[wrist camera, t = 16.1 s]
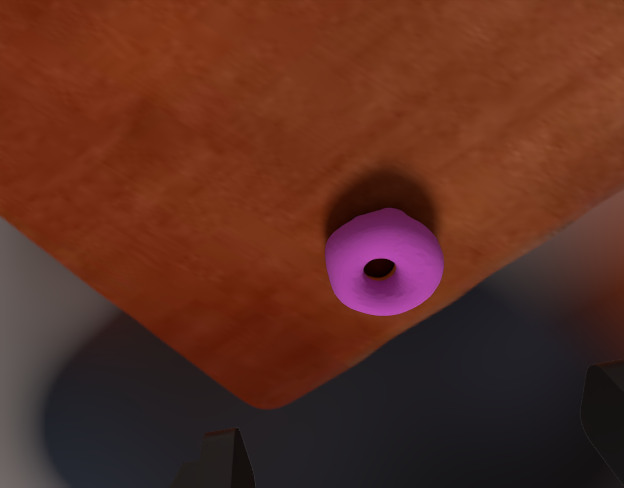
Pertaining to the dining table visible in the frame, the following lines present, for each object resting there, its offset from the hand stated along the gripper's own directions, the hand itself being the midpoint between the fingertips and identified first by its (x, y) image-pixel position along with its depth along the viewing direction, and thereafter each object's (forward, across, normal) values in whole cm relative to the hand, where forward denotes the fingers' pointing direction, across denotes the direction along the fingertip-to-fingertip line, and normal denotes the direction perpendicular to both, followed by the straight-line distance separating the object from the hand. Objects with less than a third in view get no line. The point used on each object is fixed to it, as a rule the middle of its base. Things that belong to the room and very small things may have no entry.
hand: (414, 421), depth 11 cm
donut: (+30, -5, +13) cm, 33 cm away
